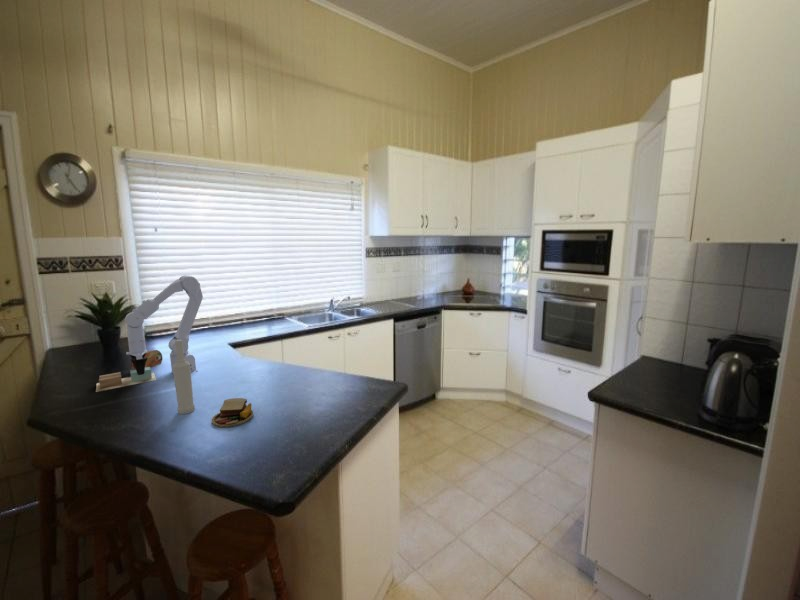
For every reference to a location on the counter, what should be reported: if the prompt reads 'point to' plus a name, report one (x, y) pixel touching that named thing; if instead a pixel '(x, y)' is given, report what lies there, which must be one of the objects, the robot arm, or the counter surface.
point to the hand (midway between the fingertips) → (140, 372)
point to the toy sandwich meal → (233, 413)
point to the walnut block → (110, 380)
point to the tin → (151, 359)
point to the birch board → (125, 383)
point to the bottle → (183, 381)
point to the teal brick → (145, 376)
